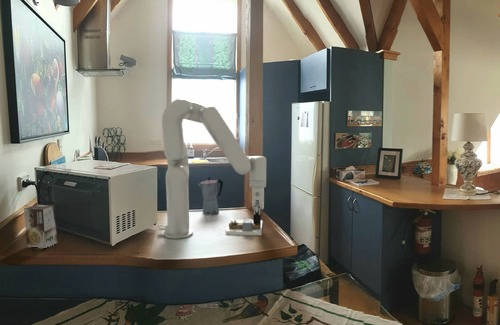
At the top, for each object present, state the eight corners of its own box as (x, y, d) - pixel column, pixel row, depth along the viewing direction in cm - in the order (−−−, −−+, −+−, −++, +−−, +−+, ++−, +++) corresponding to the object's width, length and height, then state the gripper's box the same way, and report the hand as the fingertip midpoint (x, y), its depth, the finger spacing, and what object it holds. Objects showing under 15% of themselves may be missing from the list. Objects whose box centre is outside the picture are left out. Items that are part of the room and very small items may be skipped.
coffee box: (58, 243, 141) (55, 205, 139) (45, 249, 135) (43, 209, 133) (39, 241, 143) (36, 204, 141) (26, 247, 136) (23, 207, 134)
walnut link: (228, 228, 156) (228, 212, 156) (229, 225, 161) (229, 209, 160) (260, 228, 156) (260, 212, 155) (260, 225, 160) (260, 210, 159)
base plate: (225, 234, 154) (225, 231, 154) (230, 222, 172) (230, 219, 172) (261, 235, 153) (261, 232, 153) (262, 223, 171) (262, 220, 171)
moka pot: (194, 213, 189) (194, 177, 186) (217, 208, 199) (216, 174, 197) (204, 216, 182) (204, 179, 179) (227, 211, 192) (227, 176, 190)
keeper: (229, 230, 154) (229, 222, 154) (231, 226, 161) (231, 218, 160) (251, 231, 154) (251, 223, 153) (252, 226, 160) (252, 219, 160)
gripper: (265, 187, 146) (265, 226, 149) (266, 180, 164) (265, 215, 166) (248, 186, 147) (247, 225, 149) (250, 179, 164) (250, 214, 166)
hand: (257, 220), depth 157 cm, fingers open, 9 cm apart
